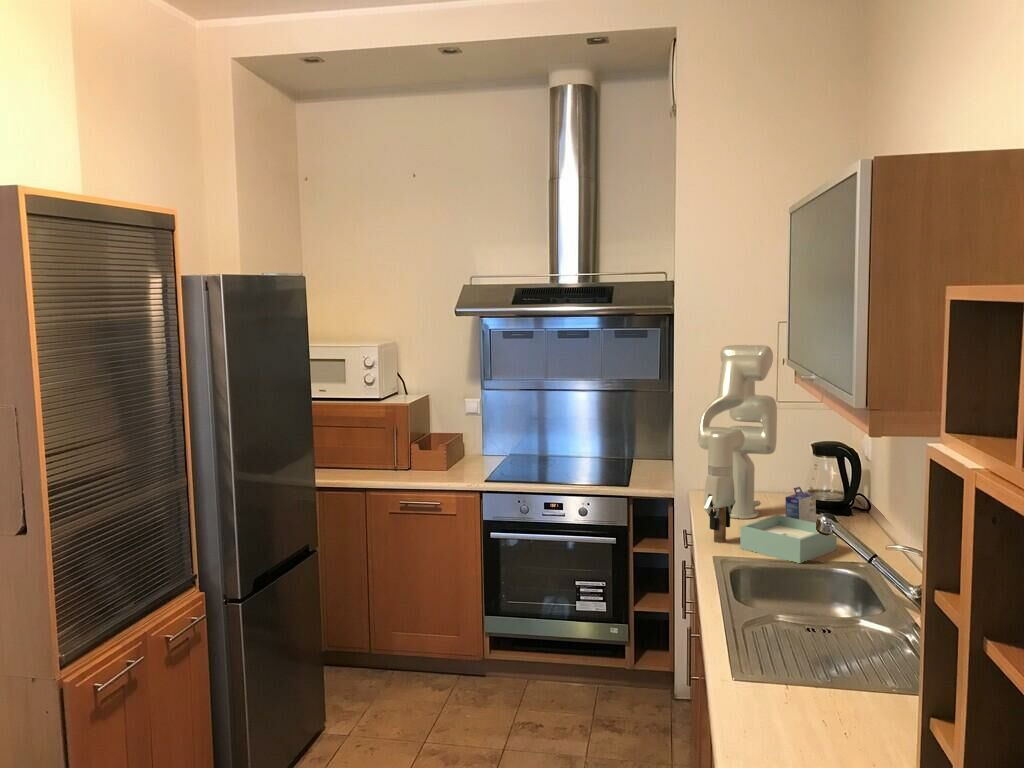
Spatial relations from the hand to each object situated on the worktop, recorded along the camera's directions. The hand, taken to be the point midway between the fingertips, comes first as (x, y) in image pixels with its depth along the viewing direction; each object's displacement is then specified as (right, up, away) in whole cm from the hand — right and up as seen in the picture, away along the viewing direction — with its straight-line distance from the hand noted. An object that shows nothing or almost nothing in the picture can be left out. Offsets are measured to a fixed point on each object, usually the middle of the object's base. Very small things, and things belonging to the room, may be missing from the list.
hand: (719, 527), depth 260 cm
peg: (0, -4, 0) cm, 4 cm away
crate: (+18, -5, -9) cm, 21 cm away
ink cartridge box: (+29, -3, +10) cm, 30 cm away
